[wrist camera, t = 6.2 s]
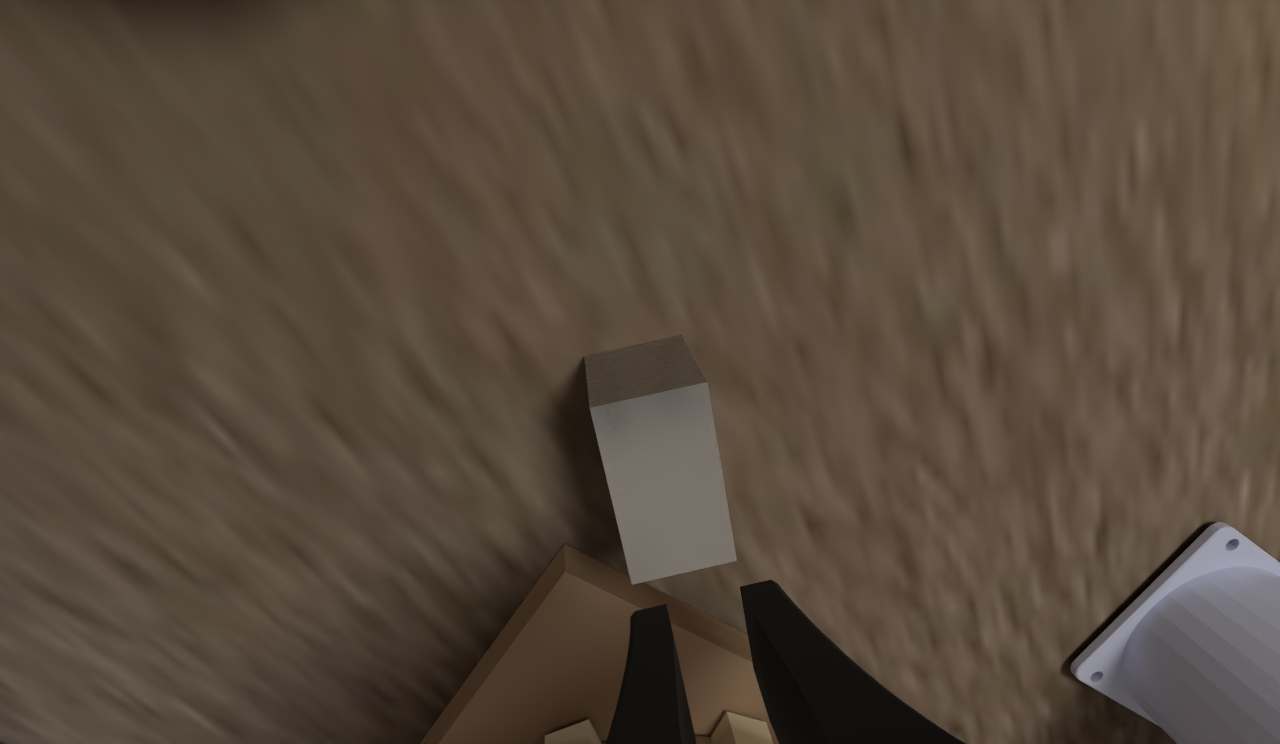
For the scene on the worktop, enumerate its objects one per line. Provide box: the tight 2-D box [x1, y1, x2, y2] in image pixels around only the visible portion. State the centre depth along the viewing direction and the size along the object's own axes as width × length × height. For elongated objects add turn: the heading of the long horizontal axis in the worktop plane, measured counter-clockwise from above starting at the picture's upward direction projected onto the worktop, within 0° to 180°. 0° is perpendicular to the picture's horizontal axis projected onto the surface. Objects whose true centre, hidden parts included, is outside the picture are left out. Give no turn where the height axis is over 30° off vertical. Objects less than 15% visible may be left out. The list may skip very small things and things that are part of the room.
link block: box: [584, 335, 737, 585], centre depth 20 cm, size 6×3×4 cm, turn 11°
